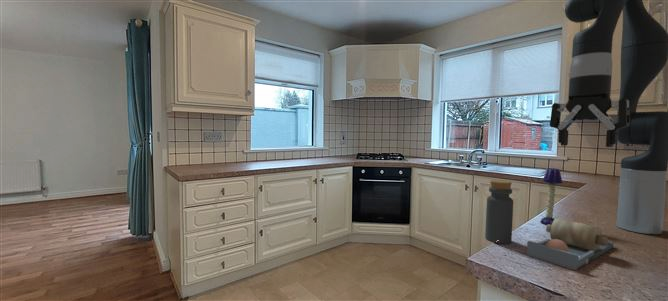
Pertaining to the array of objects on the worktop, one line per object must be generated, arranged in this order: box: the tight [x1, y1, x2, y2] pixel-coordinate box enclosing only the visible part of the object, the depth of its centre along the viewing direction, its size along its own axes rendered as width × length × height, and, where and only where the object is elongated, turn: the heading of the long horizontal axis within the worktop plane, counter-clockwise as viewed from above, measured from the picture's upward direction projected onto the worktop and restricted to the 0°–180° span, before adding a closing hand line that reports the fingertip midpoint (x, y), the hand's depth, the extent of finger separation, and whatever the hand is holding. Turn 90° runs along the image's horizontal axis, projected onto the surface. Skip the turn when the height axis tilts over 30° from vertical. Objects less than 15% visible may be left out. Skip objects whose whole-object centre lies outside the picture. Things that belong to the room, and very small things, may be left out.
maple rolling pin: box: [545, 217, 609, 252], centre depth 71 cm, size 11×6×6 cm, turn 34°
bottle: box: [484, 179, 514, 245], centre depth 77 cm, size 6×6×15 cm
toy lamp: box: [540, 167, 563, 226], centre depth 91 cm, size 5×5×17 cm
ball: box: [546, 239, 568, 252], centre depth 66 cm, size 4×4×4 cm
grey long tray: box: [526, 238, 615, 271], centre depth 71 cm, size 23×9×3 cm, turn 124°
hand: (585, 146), depth 72 cm, fingers open, 8 cm apart
